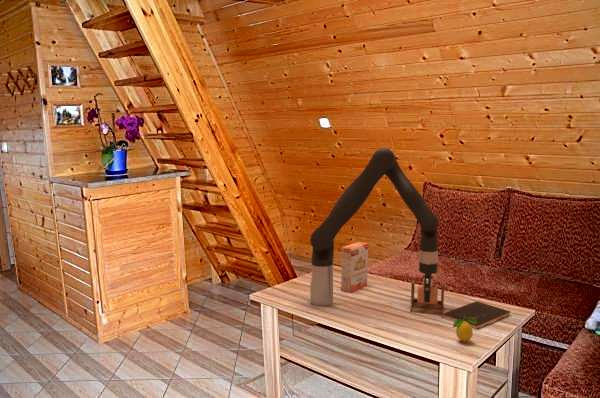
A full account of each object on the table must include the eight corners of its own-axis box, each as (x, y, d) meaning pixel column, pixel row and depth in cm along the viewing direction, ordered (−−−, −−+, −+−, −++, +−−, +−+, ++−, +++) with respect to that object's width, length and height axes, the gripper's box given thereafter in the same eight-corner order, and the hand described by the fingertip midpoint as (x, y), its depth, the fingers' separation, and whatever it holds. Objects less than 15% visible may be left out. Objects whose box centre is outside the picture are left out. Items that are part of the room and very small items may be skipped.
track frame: (410, 312, 208) (410, 286, 207) (412, 302, 220) (412, 277, 218) (443, 315, 205) (443, 288, 203) (443, 304, 216) (444, 279, 214)
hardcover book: (510, 316, 203) (510, 311, 203) (476, 331, 190) (476, 325, 189) (475, 305, 216) (475, 300, 216) (441, 318, 202) (441, 313, 202)
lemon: (476, 341, 180) (477, 314, 178) (470, 346, 175) (471, 319, 174) (458, 336, 184) (458, 310, 183) (451, 342, 179) (452, 314, 178)
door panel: (417, 306, 212) (417, 288, 210) (417, 304, 214) (418, 285, 213) (437, 308, 209) (437, 289, 208) (437, 305, 212) (437, 287, 211)
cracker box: (351, 293, 232) (351, 248, 229) (340, 290, 236) (340, 246, 233) (368, 285, 243) (368, 242, 240) (357, 283, 247) (358, 241, 244)
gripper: (420, 255, 217) (419, 292, 219) (418, 264, 203) (417, 303, 206) (438, 256, 215) (437, 293, 217) (437, 266, 201) (436, 305, 204)
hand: (427, 298), depth 211 cm, fingers open, 8 cm apart
